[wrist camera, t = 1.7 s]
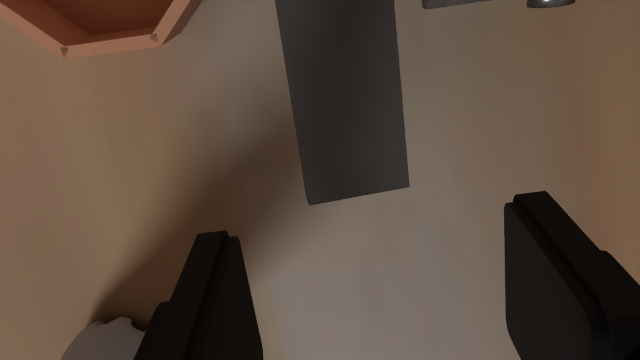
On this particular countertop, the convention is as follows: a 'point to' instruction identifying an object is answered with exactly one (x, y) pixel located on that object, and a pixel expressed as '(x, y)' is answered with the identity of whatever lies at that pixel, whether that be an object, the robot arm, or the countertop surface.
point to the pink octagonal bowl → (98, 24)
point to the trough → (345, 96)
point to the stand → (533, 0)
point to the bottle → (106, 341)
